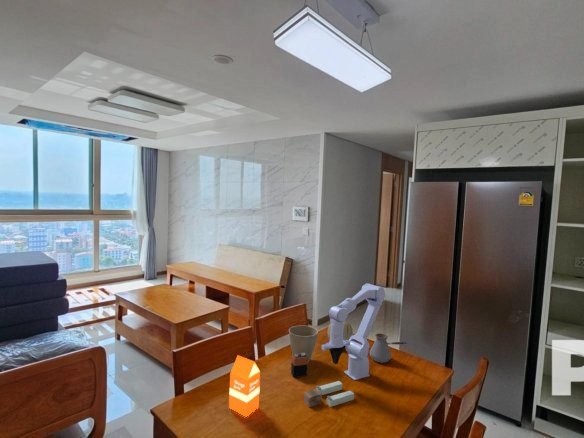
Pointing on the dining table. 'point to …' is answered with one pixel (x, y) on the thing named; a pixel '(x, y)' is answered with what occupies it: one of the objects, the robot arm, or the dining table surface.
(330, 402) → the rails
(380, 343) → the coffee pot
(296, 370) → the battery
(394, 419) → the dining table surface
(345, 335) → the cantaloupe
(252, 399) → the orange juice
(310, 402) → the block
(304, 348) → the plant pot
